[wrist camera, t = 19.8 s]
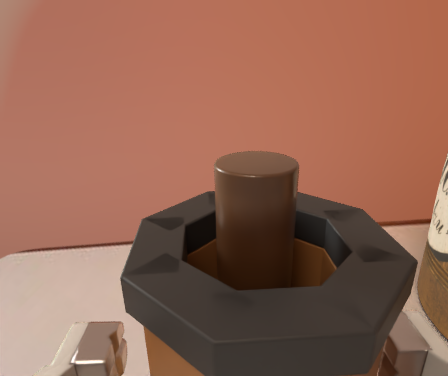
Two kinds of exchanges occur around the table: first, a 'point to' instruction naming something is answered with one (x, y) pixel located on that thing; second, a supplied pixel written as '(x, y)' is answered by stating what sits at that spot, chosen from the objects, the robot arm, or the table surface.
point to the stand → (255, 219)
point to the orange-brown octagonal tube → (267, 296)
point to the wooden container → (437, 261)
